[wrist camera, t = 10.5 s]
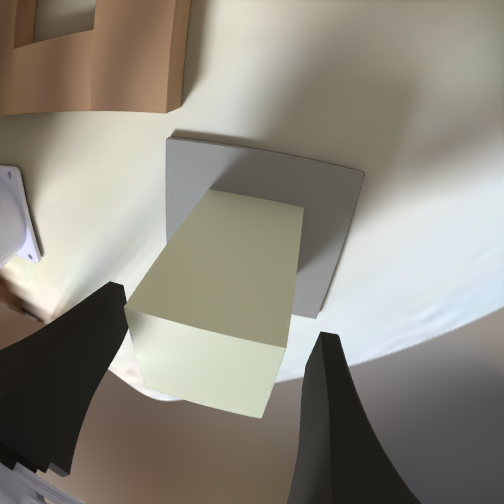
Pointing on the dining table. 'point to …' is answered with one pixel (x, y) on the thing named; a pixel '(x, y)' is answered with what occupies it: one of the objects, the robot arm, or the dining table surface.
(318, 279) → the rubber pad
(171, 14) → the pocket block
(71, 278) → the dining table surface
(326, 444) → the robot arm
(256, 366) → the sage block
